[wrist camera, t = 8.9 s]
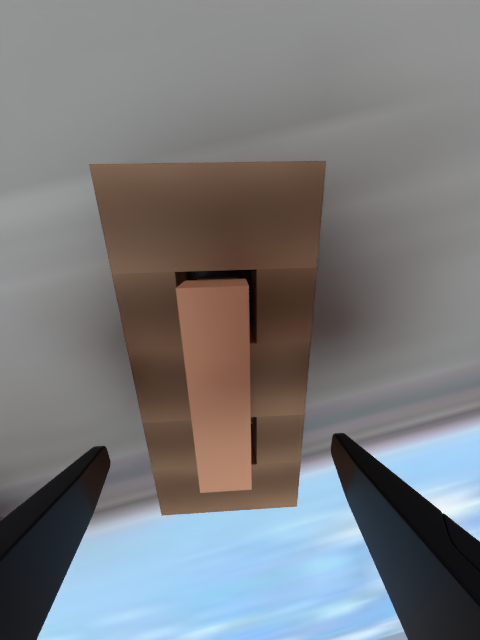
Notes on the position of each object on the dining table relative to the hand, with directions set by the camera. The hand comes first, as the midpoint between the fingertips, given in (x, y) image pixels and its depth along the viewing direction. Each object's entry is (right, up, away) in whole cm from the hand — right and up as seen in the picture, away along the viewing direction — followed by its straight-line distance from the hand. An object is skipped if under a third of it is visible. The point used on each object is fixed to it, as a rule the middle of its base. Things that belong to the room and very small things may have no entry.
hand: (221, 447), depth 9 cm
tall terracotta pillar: (-1, +2, +7) cm, 7 cm away
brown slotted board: (0, +2, +7) cm, 7 cm away
